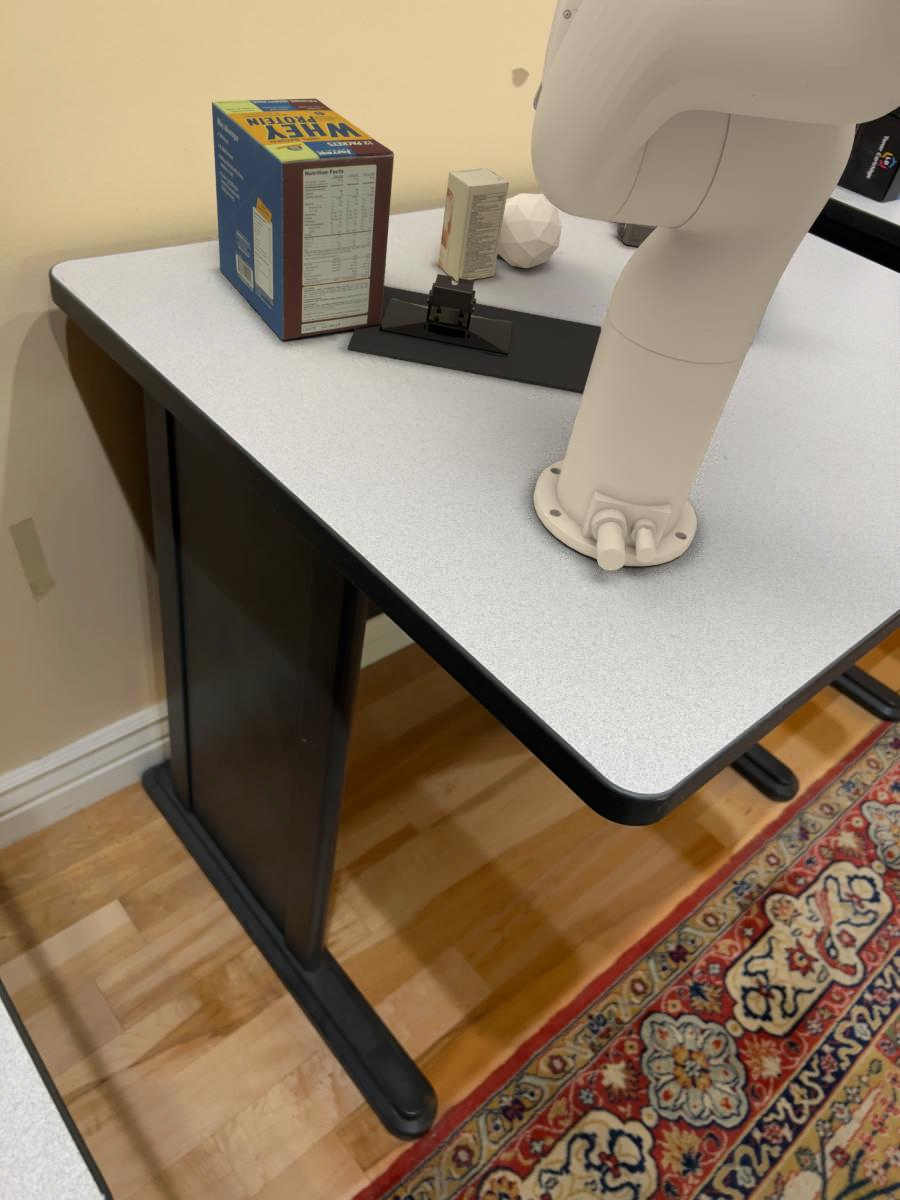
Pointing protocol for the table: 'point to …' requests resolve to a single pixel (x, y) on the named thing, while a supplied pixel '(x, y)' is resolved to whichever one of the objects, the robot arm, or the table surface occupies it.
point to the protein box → (302, 213)
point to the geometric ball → (529, 230)
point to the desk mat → (534, 356)
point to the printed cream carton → (472, 223)
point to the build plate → (448, 319)
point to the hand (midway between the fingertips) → (579, 196)
